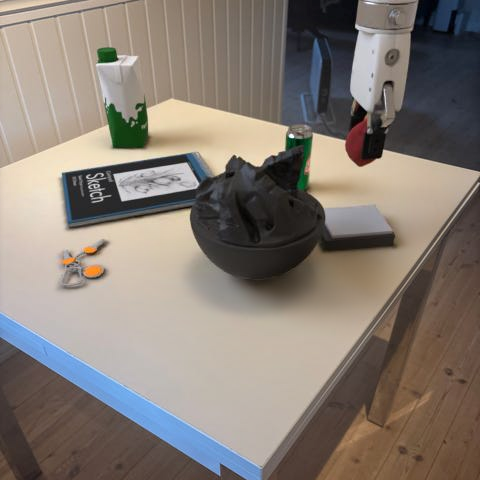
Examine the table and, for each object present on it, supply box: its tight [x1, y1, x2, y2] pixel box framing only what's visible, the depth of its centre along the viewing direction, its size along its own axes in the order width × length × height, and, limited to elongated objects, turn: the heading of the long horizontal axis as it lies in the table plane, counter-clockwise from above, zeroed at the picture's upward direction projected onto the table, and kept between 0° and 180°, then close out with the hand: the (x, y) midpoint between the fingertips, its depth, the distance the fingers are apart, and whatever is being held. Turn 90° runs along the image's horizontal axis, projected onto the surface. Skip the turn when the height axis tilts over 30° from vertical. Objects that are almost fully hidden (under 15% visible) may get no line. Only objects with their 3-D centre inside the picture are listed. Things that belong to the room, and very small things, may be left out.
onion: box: [344, 114, 377, 168], centre depth 75 cm, size 6×6×8 cm
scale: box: [318, 204, 397, 252], centre depth 85 cm, size 12×10×3 cm
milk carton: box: [95, 46, 149, 149], centre depth 110 cm, size 9×9×20 cm
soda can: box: [284, 123, 314, 191], centre depth 95 cm, size 5×5×12 cm
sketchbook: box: [61, 151, 216, 229], centre depth 98 cm, size 22×30×2 cm
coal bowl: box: [189, 145, 326, 281], centre depth 72 cm, size 20×20×19 cm
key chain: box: [59, 238, 106, 287], centre depth 79 cm, size 13×7×1 cm, turn 7°
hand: (364, 148), depth 76 cm, fingers closed on onion, 5 cm apart
